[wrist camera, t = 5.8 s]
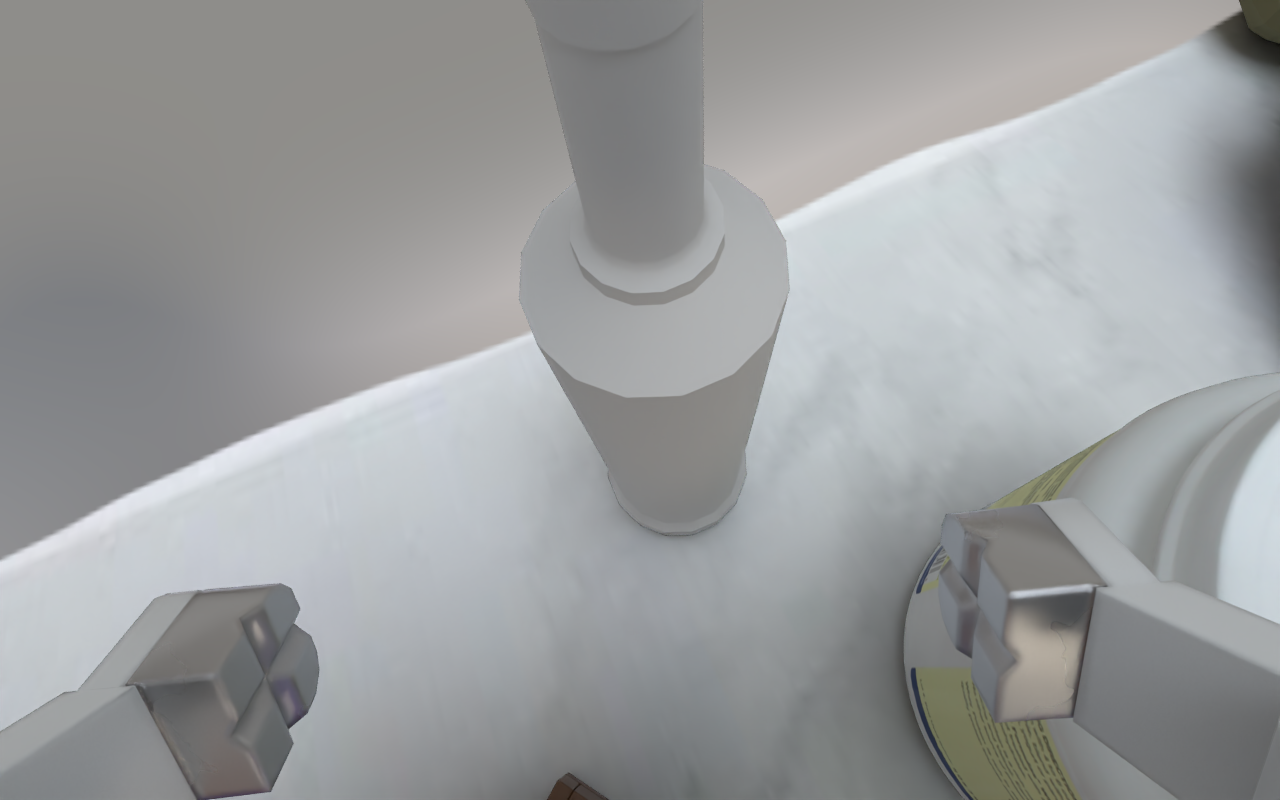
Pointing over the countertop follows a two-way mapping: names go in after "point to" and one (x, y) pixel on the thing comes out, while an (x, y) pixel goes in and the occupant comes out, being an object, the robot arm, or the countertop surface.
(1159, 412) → the supplement tub
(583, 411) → the bottle
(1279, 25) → the bottle
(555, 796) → the tray
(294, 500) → the countertop surface
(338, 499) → the countertop surface
